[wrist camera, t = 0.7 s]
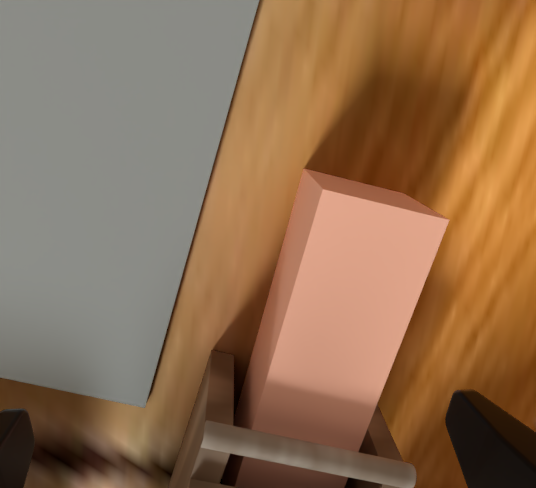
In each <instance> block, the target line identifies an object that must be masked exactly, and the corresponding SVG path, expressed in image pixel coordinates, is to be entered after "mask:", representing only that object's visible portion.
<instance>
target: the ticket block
mask: <svg viewBox="0 0 536 488" xmlns="http://www.w3.org/2000/svg"><path fill="white" fill-rule="evenodd" d="M448 222H449V220H448V219H447V218H445V217H443V216H442V215H440V214H438V213H437V212H435V211H433V210H431V209H430V208H428V207H426V206H425V205H423V204H421V203H420V202H418V201H416V200H414V199H413V198H411V197H409V196H408V195H406V194H404V193H401V192H397V191H393V190H389V189H385V188H381V187H377V186H373V185H369V184H365V183H361V182H356V181H352V180H348V179H344V178H340V177H336V176H332V175H328V174H324V173H320V172H316V171H312V170H308V169H303V173H302V176H301V180H300V184H299V187H298V191H297V194H296V198H295V201H294V205H293V209H292V212H291V216H290V219H289V223H288V227H287V230H286V234H285V237H284V241H283V245H282V248H281V252H280V255H279V259H278V262H277V266H276V270H275V273H274V277H273V280H272V284H271V288H270V291H269V295H268V298H267V302H266V306H265V309H264V313H263V316H262V320H261V323H260V327H259V331H258V334H257V338H256V341H255V345H254V349H253V352H252V356H251V359H250V363H249V366H248V370H247V374H246V377H245V381H244V384H243V388H242V392H241V395H240V399H239V402H238V406H237V410H236V413H235V417H234V420H233V426H236V427H241V428H246V429H251V430H255V431H260V432H265V433H269V434H274V435H279V436H284V437H288V438H293V439H298V440H303V441H307V442H312V443H317V444H322V445H326V446H331V447H336V448H341V449H345V450H350V451H355V452H359V449H360V446H361V444H362V441H363V439H364V436H365V434H366V431H367V429H368V426H369V424H370V421H371V418H372V416H373V413H374V411H375V408H376V406H377V403H378V401H379V398H380V396H381V393H382V390H383V388H384V385H385V383H386V380H387V378H388V375H389V373H390V370H391V367H392V365H393V362H394V360H395V357H396V355H397V352H398V350H399V347H400V345H401V342H402V339H403V337H404V334H405V332H406V329H407V327H408V324H409V322H410V319H411V317H412V314H413V311H414V309H415V306H416V304H417V301H418V299H419V296H420V294H421V291H422V289H423V286H424V283H425V281H426V278H427V276H428V273H429V271H430V268H431V266H432V263H433V261H434V258H435V255H436V253H437V250H438V248H439V245H440V243H441V240H442V238H443V235H444V233H445V230H446V227H447V225H448ZM347 480H348V477H345V476H340V475H335V474H330V473H325V472H320V471H315V470H310V469H305V468H300V467H295V466H290V465H285V464H280V463H275V462H270V461H265V460H260V459H255V458H250V457H245V456H240V455H235V454H230V455H229V458H228V461H227V464H226V466H225V469H224V472H223V482H222V485H227V486H232V487H237V488H344V487H345V485H346V482H347Z"/></svg>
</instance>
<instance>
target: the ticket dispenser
mask: <svg viewBox="0 0 536 488" xmlns="http://www.w3.org/2000/svg"><path fill="white" fill-rule="evenodd" d="M233 404H234V355H231V354H227V353H222V352H218V351H214V350H212V351H211V354H210V357H209V360H208V363H207V367H206V370H205V373H204V376H203V379H202V382H201V385H200V388H199V392H198V395H197V398H196V401H195V404H194V407H193V410H192V413H191V417H190V420H189V423H188V426H187V429H186V432H185V435H184V439H183V442H182V445H181V448H180V451H179V454H178V457H177V460H176V464H175V467H174V470H173V473H172V476H171V479H170V482H169V485H168V488H237V487H232V486H227V485H221V484H219V483H220V480H221V477H222V475H223V472H224V469H225V466H226V464H227V461H228V458H229V455H230V454H235V455H240V456H245V457H250V458H255V459H260V460H265V461H270V462H275V463H280V464H285V465H290V466H295V467H300V468H305V469H310V470H315V471H320V472H325V473H330V474H335V475H340V476H345V477H348V480H347V482H346V485H345V487H344V488H413V487H414V486H415V483H416V469H415V467H414V465H413V464H411V463H407V462H403V460H402V458H401V455H400V453H399V451H398V449H397V447H396V444H395V442H394V440H393V438H392V436H391V433H390V431H389V429H388V427H387V425H386V422H385V420H384V418H383V416H382V414H381V411H380V409H379V407H378V405H377V406H376V408H375V411H374V413H373V416H372V418H371V421H370V424H369V426H368V429H367V431H366V434H365V436H364V439H363V441H362V444H361V446H360V449H359V452H355V451H350V450H345V449H341V448H336V447H331V446H326V445H322V444H317V443H312V442H307V441H303V440H298V439H293V438H288V437H284V436H279V435H274V434H269V433H265V432H260V431H255V430H251V429H246V428H241V427H236V426H233Z"/></svg>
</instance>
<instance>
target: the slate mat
mask: <svg viewBox="0 0 536 488" xmlns="http://www.w3.org/2000/svg"><path fill="white" fill-rule="evenodd" d="M258 3H259V0H0V378H5V379H10V380H15V381H19V382H24V383H29V384H34V385H38V386H43V387H48V388H53V389H57V390H62V391H67V392H72V393H76V394H81V395H86V396H91V397H95V398H100V399H105V400H110V401H114V402H119V403H124V404H129V405H133V406H138V407H143V408H145V406H146V403H147V399H148V395H149V392H150V388H151V385H152V381H153V378H154V374H155V370H156V367H157V363H158V360H159V356H160V353H161V349H162V346H163V342H164V338H165V335H166V331H167V328H168V324H169V321H170V317H171V313H172V310H173V306H174V303H175V299H176V296H177V292H178V288H179V285H180V281H181V278H182V274H183V271H184V267H185V264H186V260H187V256H188V253H189V249H190V246H191V242H192V239H193V235H194V231H195V228H196V224H197V221H198V217H199V214H200V210H201V206H202V203H203V199H204V196H205V192H206V189H207V185H208V182H209V178H210V174H211V171H212V167H213V164H214V160H215V157H216V153H217V149H218V146H219V142H220V139H221V135H222V132H223V128H224V124H225V121H226V117H227V114H228V110H229V107H230V103H231V100H232V96H233V92H234V89H235V85H236V82H237V78H238V75H239V71H240V67H241V64H242V60H243V57H244V53H245V50H246V46H247V43H248V39H249V35H250V32H251V28H252V25H253V21H254V18H255V14H256V10H257V7H258Z"/></svg>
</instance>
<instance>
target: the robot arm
mask: <svg viewBox="0 0 536 488" xmlns="http://www.w3.org/2000/svg"><path fill="white" fill-rule="evenodd" d="M445 420H446V427H447V430H448V433H449V436H450V438H451V441H452V444H453V447H454V450H455V452H456V455H457V458H458V461H459V464H460V466H461V469H462V472H463V475H464V478H465V480H466V483H467V486H468V488H536V432H534V431H533V430H531V429H530V428H529V427H527V426H526V425H524V424H523V423H521V422H520V421H519V420H517V419H516V418H514V417H513V416H511V415H510V414H508V413H507V412H506V411H504V410H503V409H501V408H500V407H498V406H497V405H496V404H494V403H493V402H491V401H490V400H488V399H487V398H485V397H484V396H483V395H481V394H480V393H478V392H477V391H475V390H471V389H469V390H456V391H455V392H454V393H453V395H452V398H451V401H450V404H449V407H448V410H447V413H446V419H445ZM34 445H35V438H34V433H33V429H32V425H31V422H30V418H29V414H28V412H27V410H25V409H6V410H3V411H1V412H0V488H24V484H25V480H26V476H27V473H28V469H29V465H30V462H31V458H32V454H33V450H34Z"/></svg>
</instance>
